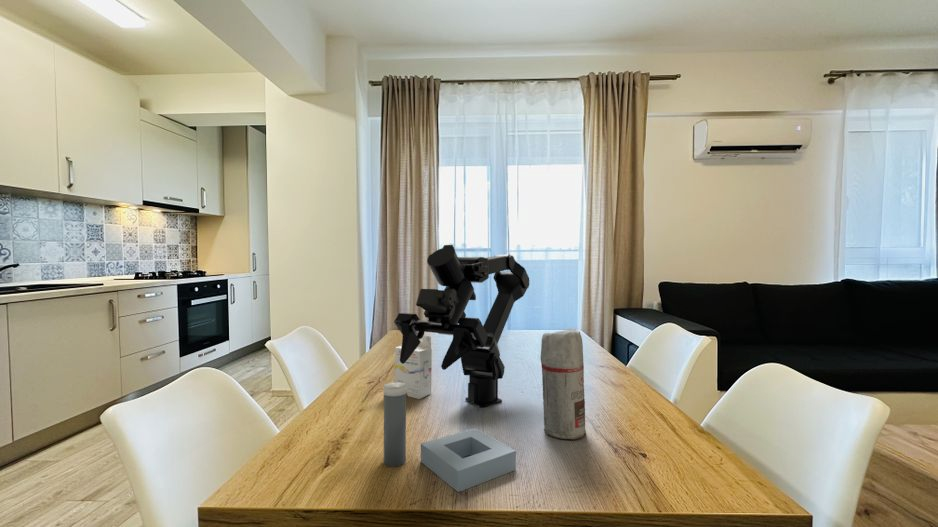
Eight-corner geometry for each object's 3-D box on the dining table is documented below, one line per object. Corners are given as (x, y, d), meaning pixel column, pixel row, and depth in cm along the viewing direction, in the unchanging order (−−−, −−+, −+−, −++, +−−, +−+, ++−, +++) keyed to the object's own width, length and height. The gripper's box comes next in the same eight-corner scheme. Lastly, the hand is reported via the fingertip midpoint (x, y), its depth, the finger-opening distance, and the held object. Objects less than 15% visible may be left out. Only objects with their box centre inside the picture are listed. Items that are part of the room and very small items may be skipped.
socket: (474, 444, 73) (474, 427, 73) (515, 469, 64) (515, 450, 64) (420, 461, 66) (420, 443, 66) (458, 492, 57) (458, 471, 57)
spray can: (560, 444, 73) (561, 334, 73) (533, 428, 80) (533, 327, 80) (595, 435, 77) (595, 330, 77) (566, 421, 84) (566, 325, 84)
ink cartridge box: (393, 393, 102) (393, 335, 102) (406, 388, 106) (406, 332, 106) (419, 399, 97) (420, 338, 98) (432, 394, 102) (432, 335, 102)
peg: (400, 454, 69) (400, 381, 69) (409, 462, 66) (410, 386, 66) (379, 460, 67) (379, 384, 67) (388, 469, 64) (389, 390, 64)
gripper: (400, 273, 83) (361, 333, 73) (481, 274, 75) (449, 343, 65) (422, 309, 90) (388, 368, 80) (498, 314, 81) (471, 381, 71)
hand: (421, 365), depth 74 cm, fingers open, 9 cm apart
